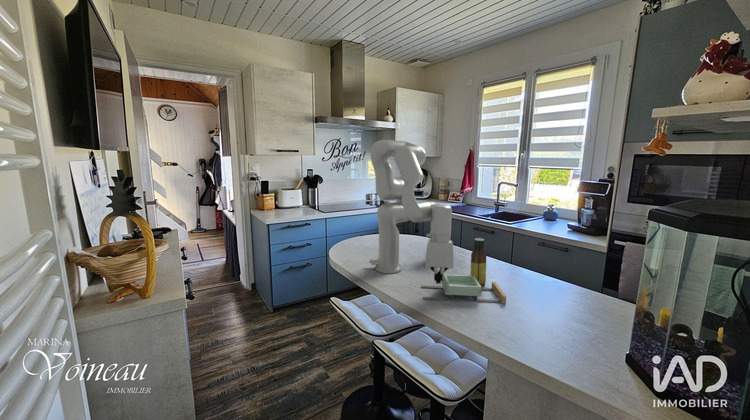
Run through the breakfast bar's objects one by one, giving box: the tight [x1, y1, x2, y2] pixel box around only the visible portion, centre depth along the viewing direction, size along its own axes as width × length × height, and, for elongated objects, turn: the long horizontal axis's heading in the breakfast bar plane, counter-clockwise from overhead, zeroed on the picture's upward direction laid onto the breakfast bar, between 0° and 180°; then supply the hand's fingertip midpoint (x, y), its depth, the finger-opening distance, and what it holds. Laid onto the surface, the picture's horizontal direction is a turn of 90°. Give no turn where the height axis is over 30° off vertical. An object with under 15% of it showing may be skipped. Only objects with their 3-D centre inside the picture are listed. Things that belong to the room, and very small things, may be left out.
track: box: [420, 281, 507, 305], centre depth 118 cm, size 30×13×3 cm, turn 86°
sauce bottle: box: [469, 237, 487, 288], centre depth 126 cm, size 7×6×20 cm
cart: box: [441, 271, 483, 300], centre depth 118 cm, size 13×11×7 cm
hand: (438, 282), depth 118 cm, fingers closed
